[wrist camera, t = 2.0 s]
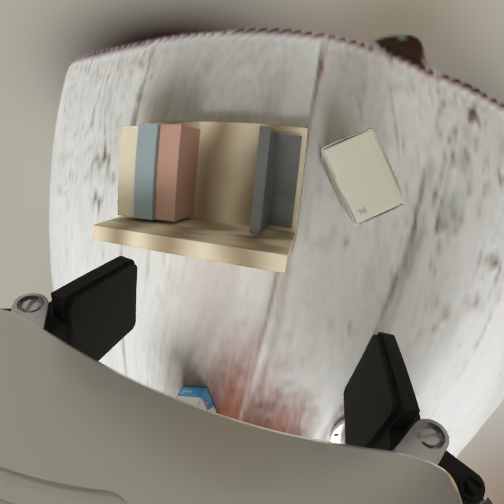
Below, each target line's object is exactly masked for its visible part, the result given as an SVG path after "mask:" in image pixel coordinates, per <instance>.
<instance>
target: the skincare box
mask: <svg viewBox="0 0 504 504" xmlns="http://www.w3.org/2000/svg"><path fill="white" fill-rule="evenodd" d="M321 163H322V165H323V167H324V169H325V171H326V174H327V176H328V178H329V180H330V182H331V184H332V186H333V189H334V191H335V193H336V195H337V197H338V199H339V201H340V203H341V205H342V207H343V209H344V210H345V211H346V213H347V214H348V215H349V217H350V218H351V219H352V221H353V222H354V223H355V225H359V224H362V223H364V222H367V221H369V220H372V219H374V218H376V217H379V216H381V215H383V214H385V213H388V212H390V211H392V210H394V209H396V208H398V207H400V206H402V205H404V204H405V201H404V198H403V194H402V192H401V189H400V186H399V183H398V181H397V178H396V176H395V173H394V171H393V169H392V167H391V164H390V162H389V160H388V158H387V156H386V154H385V152H384V150H383V148H382V146H381V144H380V142H379V140H378V138H377V136H376V135H375V133H374V131H373V129H372V128H370V129H367V130H364V131H362V132H359V133H356V134H353V135H351V136H348V137H345V138H343V139H340V140H338V141H336V142H333V143H331V144H329V145H326V146H324V147H323V148H322V150H321Z"/></svg>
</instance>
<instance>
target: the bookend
mask: <svg viewBox="0 0 504 504" xmlns="http://www.w3.org/2000/svg"><path fill="white" fill-rule="evenodd" d="M301 142H302V136H296V135H287V134H278V133H277V132H276V131H275V130H274V129H273V128H272V127H271V126H260V130H259V140H258V150H257V160H256V170H255V180H254V190H253V200H252V211H251V221H250V231H249V233H251V234H258V235H260V234H261V233H262V232H263V231H264V230H265V228H266V227H267V226H268V225H273V226H280V227H287V228H292V221H293V213H294V205H295V197H296V188H297V180H298V171H299V162H300V152H301Z"/></svg>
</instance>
